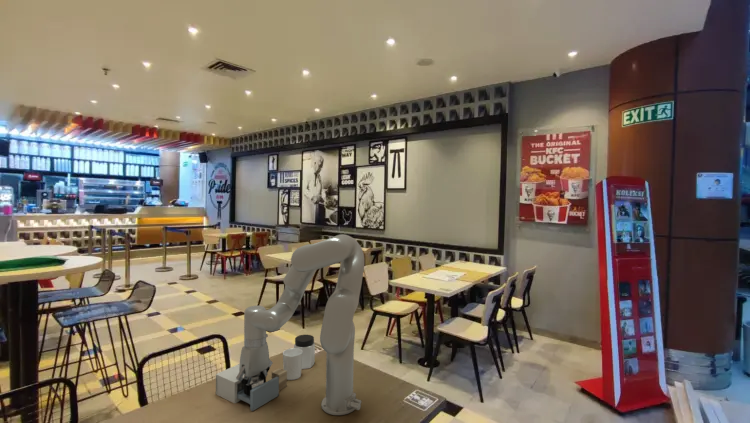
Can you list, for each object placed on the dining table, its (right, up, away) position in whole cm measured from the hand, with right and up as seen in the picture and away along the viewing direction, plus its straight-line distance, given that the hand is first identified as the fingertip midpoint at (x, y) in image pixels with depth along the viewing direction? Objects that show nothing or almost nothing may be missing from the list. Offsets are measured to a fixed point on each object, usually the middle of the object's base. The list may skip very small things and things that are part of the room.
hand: (255, 390), depth 128 cm
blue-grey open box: (0, -3, 0) cm, 3 cm away
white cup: (+10, -3, +17) cm, 20 cm away
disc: (0, +1, 0) cm, 1 cm away
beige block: (+6, -3, +8) cm, 11 cm away
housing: (-8, -3, +5) cm, 9 cm away
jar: (+12, -3, +27) cm, 30 cm away
